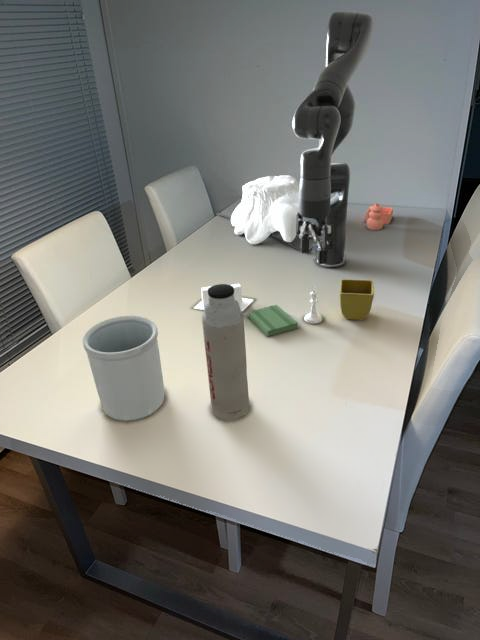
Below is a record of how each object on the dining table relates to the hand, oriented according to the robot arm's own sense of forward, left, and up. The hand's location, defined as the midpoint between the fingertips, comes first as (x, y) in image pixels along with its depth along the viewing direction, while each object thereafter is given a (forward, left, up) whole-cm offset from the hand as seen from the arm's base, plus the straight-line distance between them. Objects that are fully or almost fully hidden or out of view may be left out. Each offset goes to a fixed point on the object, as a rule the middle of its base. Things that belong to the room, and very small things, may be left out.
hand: (313, 257), depth 125 cm
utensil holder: (+12, -53, -18) cm, 57 cm away
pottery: (-56, +65, -18) cm, 88 cm away
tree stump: (-72, +26, -18) cm, 79 cm away
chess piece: (0, 0, -18) cm, 18 cm away
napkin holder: (-21, -18, -18) cm, 33 cm away
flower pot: (+4, +11, -18) cm, 22 cm away
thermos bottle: (+24, -35, -18) cm, 46 cm away
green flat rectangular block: (-4, -10, -18) cm, 21 cm away
